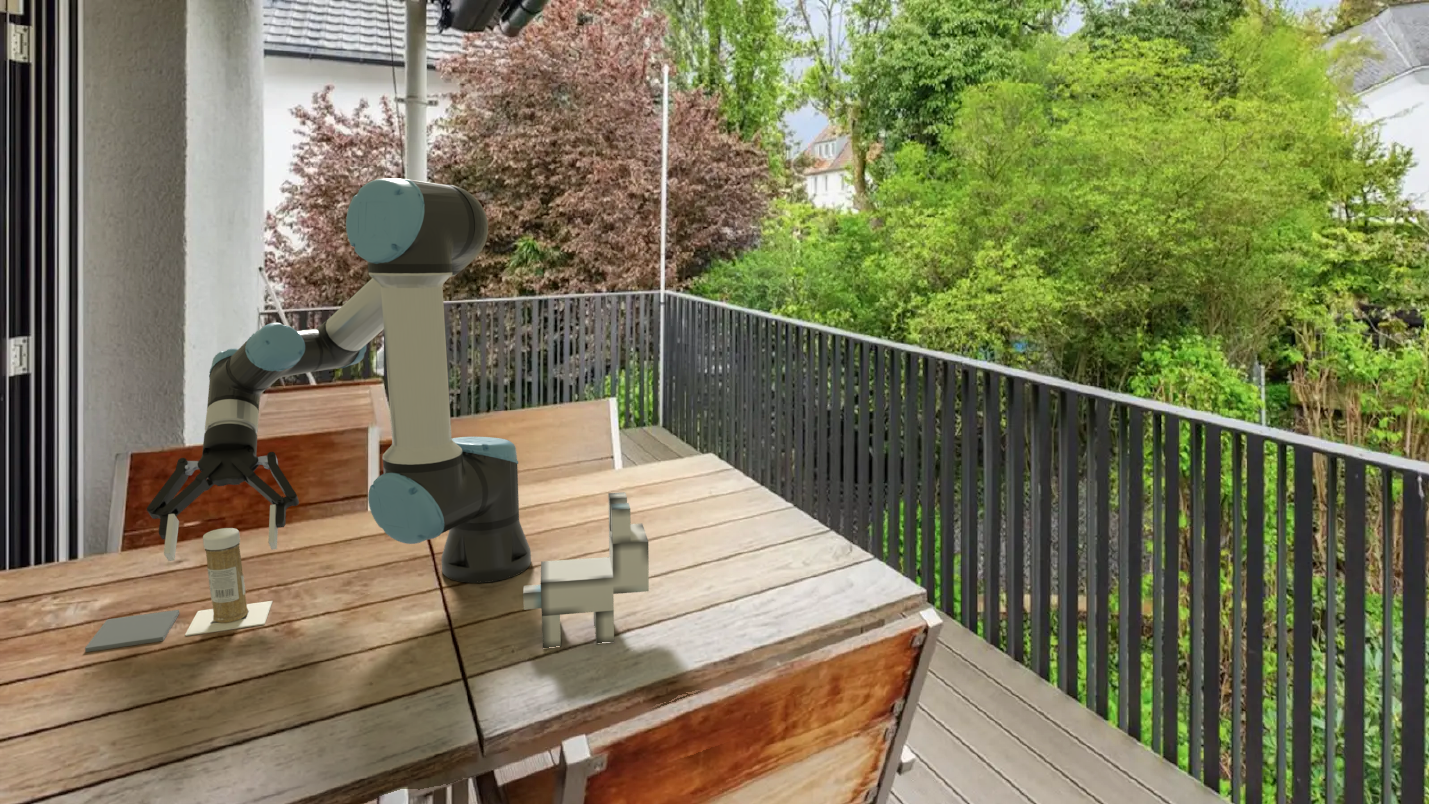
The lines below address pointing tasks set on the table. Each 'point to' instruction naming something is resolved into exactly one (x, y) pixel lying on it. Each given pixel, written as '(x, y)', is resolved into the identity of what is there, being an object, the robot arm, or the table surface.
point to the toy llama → (593, 578)
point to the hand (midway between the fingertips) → (221, 551)
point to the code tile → (206, 623)
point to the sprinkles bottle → (225, 574)
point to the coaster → (133, 630)
